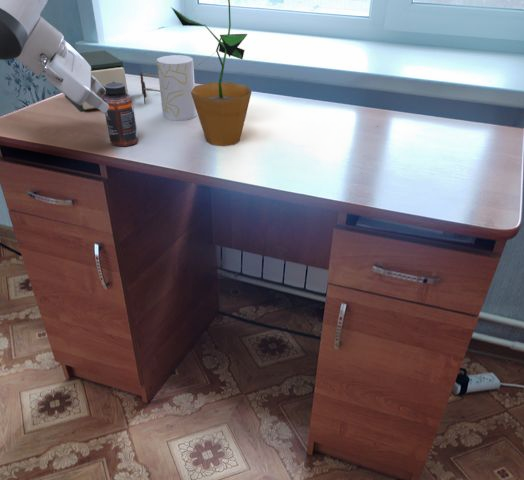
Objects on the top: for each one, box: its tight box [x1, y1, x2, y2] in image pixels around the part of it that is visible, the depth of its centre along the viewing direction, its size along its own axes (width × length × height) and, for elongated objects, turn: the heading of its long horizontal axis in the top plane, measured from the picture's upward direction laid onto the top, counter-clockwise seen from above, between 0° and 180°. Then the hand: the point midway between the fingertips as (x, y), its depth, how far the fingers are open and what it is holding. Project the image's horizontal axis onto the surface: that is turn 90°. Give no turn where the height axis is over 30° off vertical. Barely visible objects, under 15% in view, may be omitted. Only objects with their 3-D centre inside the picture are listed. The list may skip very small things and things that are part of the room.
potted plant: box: [170, 0, 253, 147], centre depth 100 cm, size 18×19×30 cm
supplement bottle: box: [103, 83, 139, 147], centre depth 105 cm, size 6×6×11 cm
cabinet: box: [64, 50, 125, 112], centre depth 127 cm, size 14×13×10 cm
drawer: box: [82, 66, 129, 109], centre depth 124 cm, size 17×11×8 cm, turn 31°
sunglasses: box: [139, 72, 161, 104], centre depth 132 cm, size 14×15×5 cm
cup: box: [156, 54, 198, 121], centre depth 119 cm, size 8×8×12 cm
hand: (106, 102), depth 102 cm, fingers open, 8 cm apart
